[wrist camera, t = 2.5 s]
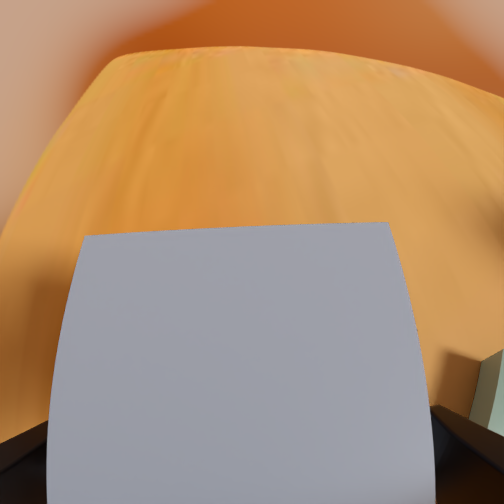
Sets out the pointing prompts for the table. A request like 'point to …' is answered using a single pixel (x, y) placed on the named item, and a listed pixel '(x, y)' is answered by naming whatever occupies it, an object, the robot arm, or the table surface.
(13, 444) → the robot arm
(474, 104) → the table surface
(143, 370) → the block
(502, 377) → the tray
